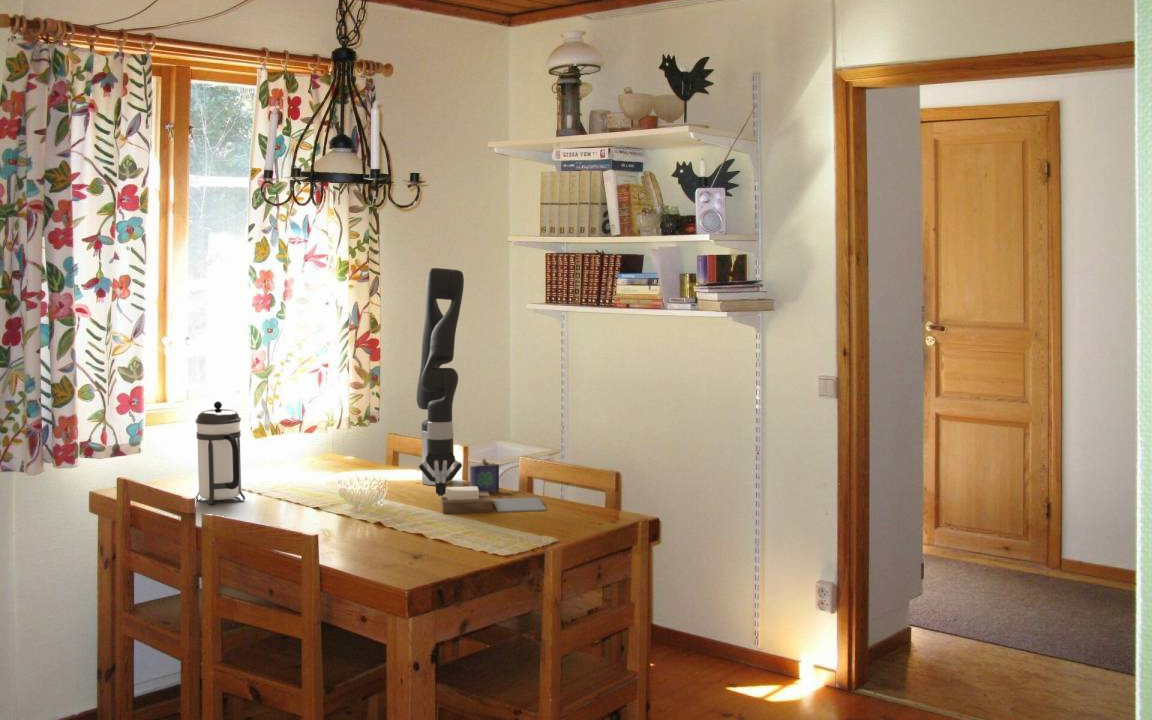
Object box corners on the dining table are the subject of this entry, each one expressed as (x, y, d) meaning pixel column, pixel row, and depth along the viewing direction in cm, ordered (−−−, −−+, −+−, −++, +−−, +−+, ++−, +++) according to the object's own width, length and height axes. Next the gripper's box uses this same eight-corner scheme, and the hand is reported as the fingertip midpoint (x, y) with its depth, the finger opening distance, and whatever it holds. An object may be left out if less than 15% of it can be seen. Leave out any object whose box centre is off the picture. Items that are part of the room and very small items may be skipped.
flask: (470, 495, 339) (470, 460, 338) (468, 493, 341) (468, 459, 340) (499, 493, 342) (500, 459, 341) (497, 491, 344) (497, 457, 343)
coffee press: (182, 506, 322) (179, 404, 319) (209, 494, 338) (206, 397, 335) (238, 508, 319) (235, 405, 317) (262, 496, 335) (260, 399, 332)
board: (440, 502, 327) (440, 492, 327) (487, 501, 330) (487, 491, 329) (443, 513, 314) (443, 503, 313) (492, 511, 316) (492, 501, 316)
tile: (446, 495, 323) (446, 487, 323) (477, 494, 325) (477, 486, 325) (447, 499, 318) (447, 491, 317) (478, 498, 319) (478, 490, 319)
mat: (492, 500, 331) (492, 499, 331) (538, 498, 333) (538, 497, 333) (497, 512, 315) (497, 511, 315) (546, 510, 318) (546, 509, 317)
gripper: (462, 433, 323) (462, 492, 325) (416, 434, 321) (417, 493, 323) (463, 438, 316) (464, 497, 317) (417, 439, 314) (417, 498, 315)
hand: (440, 495), depth 320 cm, fingers closed
